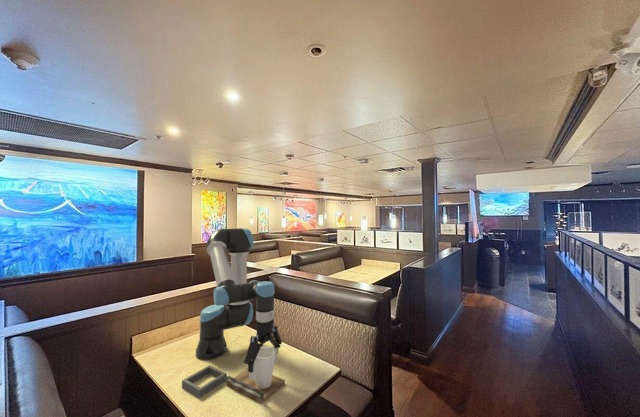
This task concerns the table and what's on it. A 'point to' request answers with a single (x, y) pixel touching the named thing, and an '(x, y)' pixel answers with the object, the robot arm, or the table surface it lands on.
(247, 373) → the shelf board
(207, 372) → the frame
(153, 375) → the table surface
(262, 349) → the foam cup
